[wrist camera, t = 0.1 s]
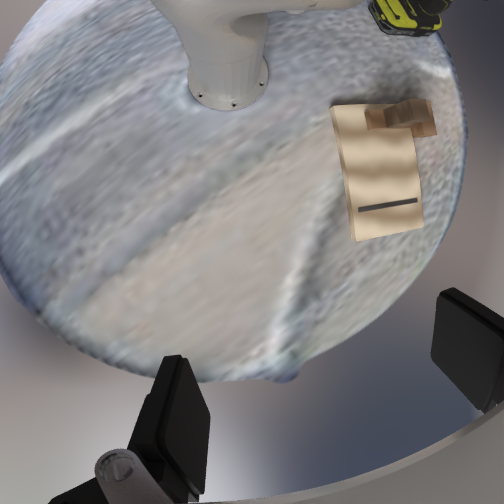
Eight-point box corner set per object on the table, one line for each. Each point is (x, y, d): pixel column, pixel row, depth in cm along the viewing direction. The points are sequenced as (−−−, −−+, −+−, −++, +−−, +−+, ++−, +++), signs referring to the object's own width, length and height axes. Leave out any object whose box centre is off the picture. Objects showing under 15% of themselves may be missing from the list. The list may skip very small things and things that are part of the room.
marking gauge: (357, 106, 40) (391, 87, 29) (415, 106, 40) (454, 93, 29) (365, 140, 42) (402, 130, 30) (421, 137, 42) (463, 131, 30)
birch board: (329, 108, 41) (333, 105, 39) (399, 106, 41) (405, 103, 39) (351, 239, 46) (356, 241, 44) (417, 225, 46) (423, 227, 44)
